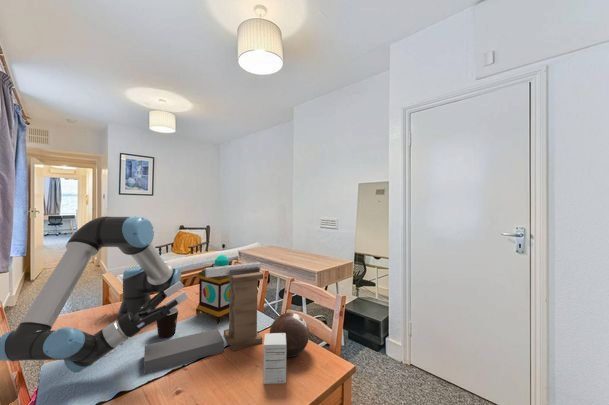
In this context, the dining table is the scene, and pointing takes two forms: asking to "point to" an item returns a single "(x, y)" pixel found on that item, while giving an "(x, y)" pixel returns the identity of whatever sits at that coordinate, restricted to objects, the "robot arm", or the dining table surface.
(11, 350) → the robot arm
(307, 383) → the dining table surface
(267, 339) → the supplement box
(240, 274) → the pedestal
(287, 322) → the wooden sphere
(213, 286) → the decorative lantern
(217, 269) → the bar
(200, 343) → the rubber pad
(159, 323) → the coffee mug
